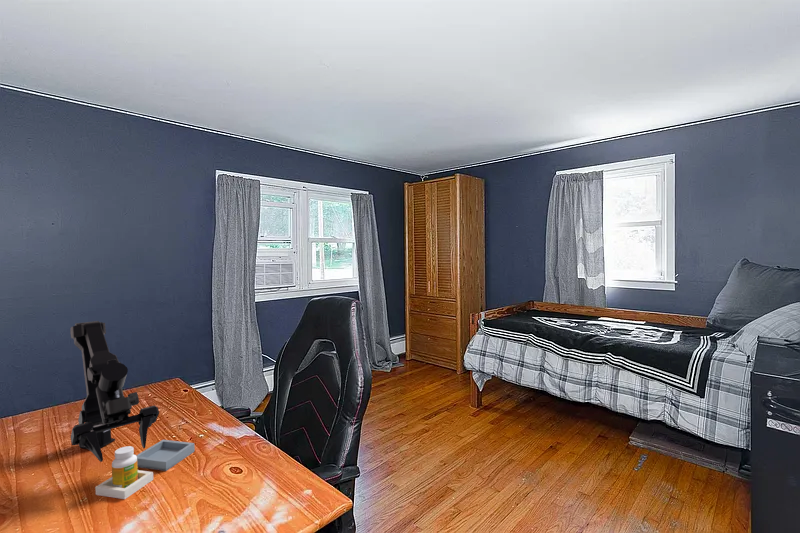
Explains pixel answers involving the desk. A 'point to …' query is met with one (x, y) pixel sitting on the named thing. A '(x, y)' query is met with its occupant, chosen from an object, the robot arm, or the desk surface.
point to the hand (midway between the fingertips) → (123, 454)
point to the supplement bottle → (124, 467)
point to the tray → (164, 454)
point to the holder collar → (123, 493)
